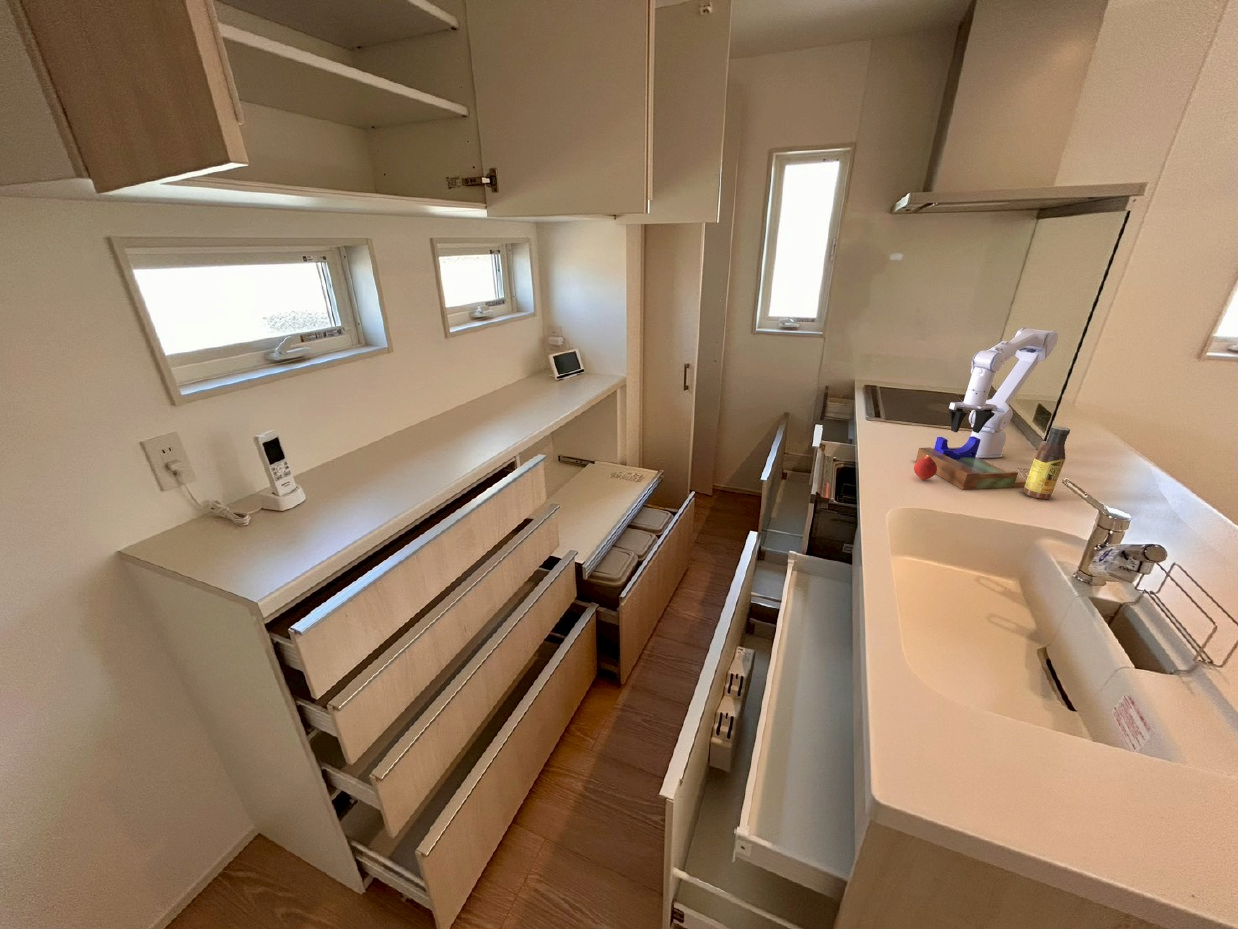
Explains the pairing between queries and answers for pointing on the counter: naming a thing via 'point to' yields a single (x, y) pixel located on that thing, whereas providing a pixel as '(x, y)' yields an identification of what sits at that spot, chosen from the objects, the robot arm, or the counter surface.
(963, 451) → the cable clip
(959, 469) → the wooden serving tray
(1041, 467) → the sauce bottle
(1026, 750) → the counter surface
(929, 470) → the onion
